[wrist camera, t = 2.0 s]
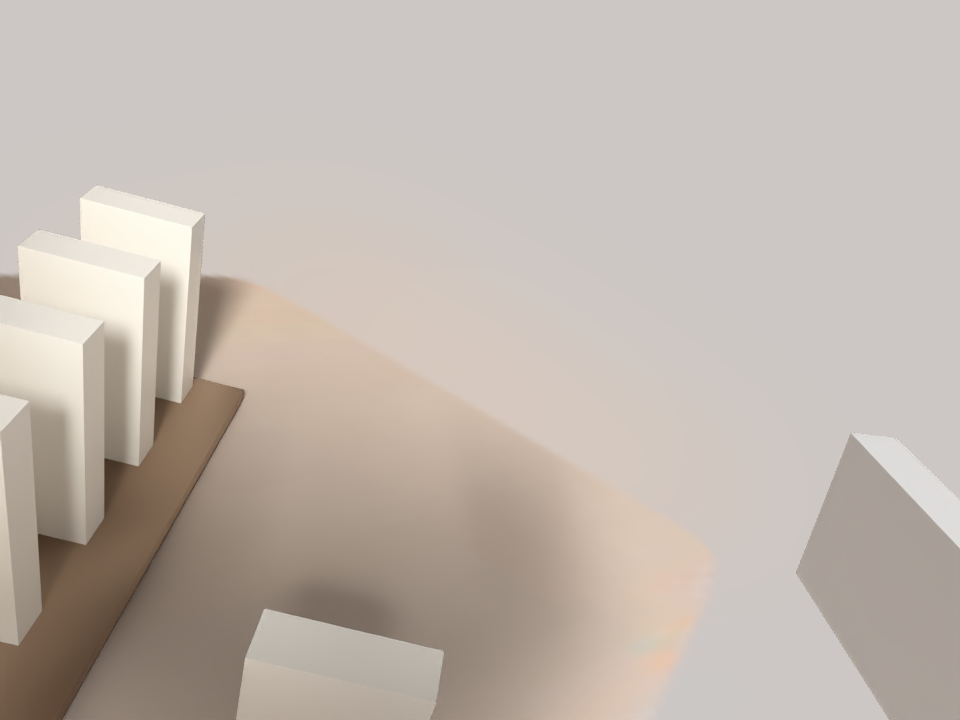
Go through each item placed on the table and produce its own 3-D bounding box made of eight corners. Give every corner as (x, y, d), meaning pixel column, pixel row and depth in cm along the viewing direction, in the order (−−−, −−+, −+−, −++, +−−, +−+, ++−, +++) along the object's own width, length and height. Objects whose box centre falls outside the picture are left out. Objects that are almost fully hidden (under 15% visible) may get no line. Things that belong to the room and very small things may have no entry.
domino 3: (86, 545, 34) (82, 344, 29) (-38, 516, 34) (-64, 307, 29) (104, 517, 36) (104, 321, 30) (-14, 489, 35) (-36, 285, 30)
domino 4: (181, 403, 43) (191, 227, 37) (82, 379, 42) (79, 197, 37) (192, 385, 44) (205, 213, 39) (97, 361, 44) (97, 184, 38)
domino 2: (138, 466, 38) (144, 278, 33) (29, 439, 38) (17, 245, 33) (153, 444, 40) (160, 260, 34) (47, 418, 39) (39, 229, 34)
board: (-368, 789, 24) (-375, 778, 24) (57, 352, 44) (56, 342, 44) (-21, 863, 25) (-22, 853, 24) (242, 398, 45) (244, 389, 45)
